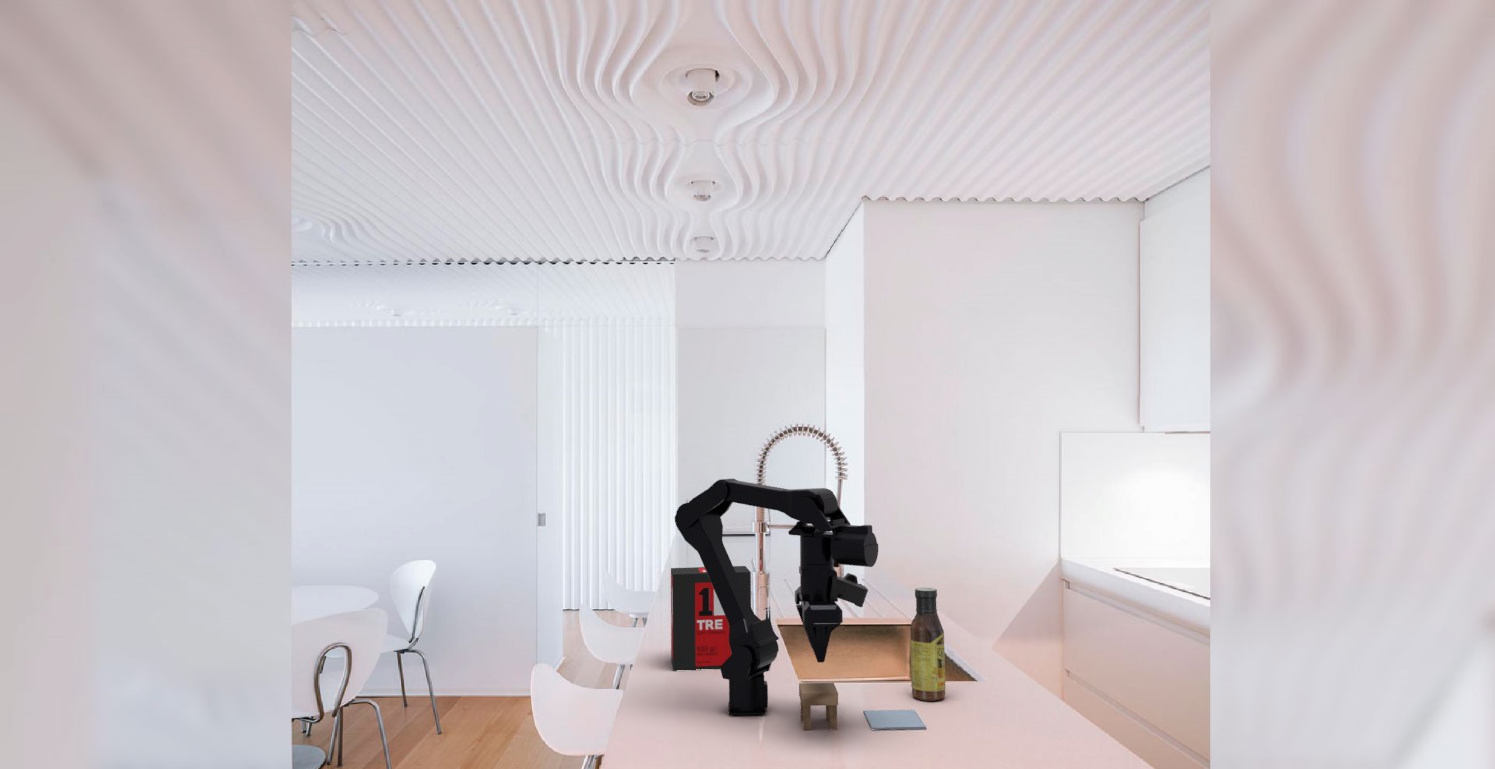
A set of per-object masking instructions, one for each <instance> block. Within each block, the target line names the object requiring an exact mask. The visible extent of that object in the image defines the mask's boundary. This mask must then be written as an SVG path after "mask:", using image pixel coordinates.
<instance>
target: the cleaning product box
mask: <svg viewBox="0 0 1495 769" xmlns="http://www.w3.org/2000/svg"><path fill="white" fill-rule="evenodd" d="M733 567H734V570H735V572H736V574H737V576H738V579H739V581H740V583H741V585H742V588H743V590H744V592H745V594H746V597H747V599H748V601H749V604H750V606H751V607H752V580H751V579H752V578H751V577H752V575H751V574H752V572H751V571H750V570H749V568H748V567H747V566H746V565H733ZM670 653H671V655H670V656H671V657H670V660H671V661H670V662H671V665H672V672H678V671H677V670H692V671H697V670H696V669H700V670H699V671H702V670H701V669H714V670H720V666H721V665H722V664H723V663H724V662H725V661H726V660H727V659H728V658H729V657H730V656H731V655H732V653H731V649H730V645H729V623H728V621H727V618H726V616H725V614H724V611H723V609H722V607H721V604H720V602H719V600H718V597H717V595H716V593H715V590H714V588H713V586H712V583H711V581H710V579H709V576H708V574H707V572H706V569H705V567H704V566H700V567H696V566H695V567H671V568H670Z"/></svg>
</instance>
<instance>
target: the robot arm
mask: <svg viewBox="0 0 1495 769" xmlns="http://www.w3.org/2000/svg"><path fill="white" fill-rule="evenodd" d="M733 503H735V504H736V503H737V504H741V505H745V506H751V507H757V508H762V509H768V510H773V511H778V512H781V513H783V514H785V515H786V516H787V517H789V518H791V519H793V520H795V521H797V522H796V524H795V525H794V526H793V527H792V528H791V529H790V530H788V532H787V534H788V535H790V536H799V545H800V547H799V554H800V555H799V556H800V558H799V560H800V562H799V564H800V565H799V566H798V573H799V574H800V576H799V578H800V579H799V580H800V581H799V582H800V586H799V587H797V589H796V590H794V602H795V604H796V605H795V607H796V609H797V611H798V616H799V618H800V620H801V623H802V625H803V628H804V631H805V634H806V636H807V639H808V642H809V645H810V648H811V649H812V650H813V653H814V656H815V658H816V661H817V663H824V662H825V661H826V656H827V652H828V651H827V650H828V647H829V643H830V640H831V639H830V638H831V634H832V632H833V631H834V630H835V629H837V627H840V626H841V624H842V623H843V610H842V608H841V607H840V606H839V605H838V604H837V602H839V599H840V600H842V601H845V602H849V603H851V604H852V605H853V604H854V605H855V606H856V607H859V608H863V607H864V603H865V600H866V597H867V595H868V592H869V589H868V587H866V586H865V585H863V584H862V583H858V582H859V581H858V576H856V574H853V573H849V572H848V573H846V574H845V575H844V576H843V577H842V576H838V572H837V571H836V570H835V568H834V567H835V566H834V564H835V563H834V561H836V563H837V564H839V565H844V566H854V567H867V568H873V567H874V566H875V564H876V563H877V560H878V556H879V543H878V542H877V537H876V535H875V534H874V532H873V526H872V524H863V525H856V524H855V525H852V524H851V522H850V521H849V520H848V517H847V516H846V515H845V514H844V512H843V510H842V509H841V507H840V506H839V504H838V503H839V502H838V499H837V497H836V495H835V494H834V492H833V491H832V490H831V489H829V488H826V487H823V488H822V487H821V488H819V487H817V488H795V489H794V488H792V489H791V488H790V489H788V488H783V487H776V486H770V485H766V484H760V483H754V482H749V481H742V480H741V481H740V480H737V479H736V478H721V479H720V478H719V479H718V480H716V481H715V482H714V483H713V484H712V485H711V486H709V487H708V488H707V489H706V490H704V491H702V492H701V493H699V494H698V495H695V497H693V498H692V499H691V500H690V501H689V502H685V503H682V504H681V505H679V507H678V508H677V510H676V511H675V516H674V522H675V526H676V529H677V530H678V531H679V533H680V535H681V536H682V538H683V539H684V541H685V542H686V543H687V544H689V545H690V546H691V547H692V548H693V549H694V550H695V551H696V552H697V553H698V556H699V557H700V560H701V562H702V564H703V565H702V566H703V567H705V569H706V572H707V574H708V576H709V579H710V581H711V583H712V586H713V588H714V590H715V593H716V595H717V597H718V600H719V602H720V604H721V607H722V609H723V611H724V614H725V616H726V618H727V621H728V623H729V645H730V649H731V653H732V655H731V656H730V657H729V658H728V659H727V660H726V661H725V662H724V663H723V664H722V665H721V666H720V669H719V670H720V673H721V676H722V679H724V680H728V716H761V715H762V716H763V715H766V709H768V708H769V705H768V704H769V702H768V700H769V690H768V688H769V687H768V681H767V680H765V673H767V672H769V671H770V670H771V666H772V663H773V662H774V661H775V660H776V659H777V656H778V653H779V650H780V649H779V648H780V647H779V644H778V640H779V639H780V638H779V636H777V634H776V633H775V631H774V628H773V625H772V622H771V620H770V619H769V618H765V619H762V620H761V619H760V617H758V616H757V615H756V614H755V612H754V611H753V608H752V605H751V606H750V604H749V601H748V599H747V597H746V594H745V592H744V590H743V588H742V585H741V583H740V581H739V579H738V576H737V574H736V572H735V570H734V567H733V566H734V565H733V563H732V561H731V559H730V555H729V554H728V551H727V549H726V547H725V545H724V542H723V536H724V535H723V533H724V530H723V529H724V525H723V523H722V518H721V517H723V515H725V514H726V513H727V512H728V511H729V509H730V508H731V506H732V504H733Z"/></svg>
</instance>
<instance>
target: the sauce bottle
mask: <svg viewBox="0 0 1495 769" xmlns="http://www.w3.org/2000/svg"><path fill="white" fill-rule="evenodd" d="M937 597H938V591H937V589H936V588H934V587H918V588H915V589H914V598H915V603H916V604H915V605H916V606H915V607H916V608H915V612H916V614H915V616H914V617H913V619H912V620H911V623H910V640H909V641H910V647H909V648H910V674H911V675H910V676H911V677H910V680H911V681H910V683H911V688H912V689H911V694H912V696H913V698H915V699H916V700H921V701H927V702H928V701H930V702H931V701H932V702H935V701H940V700H943V699H944V698H945V695H946V658H945V656H946V655H945V654H946V653H945V652H946V651H945V650H946V648H945V631H944V629H943V625H942V623H941V620H940V618H939V615H938V614H939V613H938V609H937Z"/></svg>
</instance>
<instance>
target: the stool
mask: <svg viewBox="0 0 1495 769" xmlns="http://www.w3.org/2000/svg"><path fill="white" fill-rule="evenodd" d="M798 696H799V700H800V722H802V729H803V731H812V728H811V727H812V723H811V722H812V721H811V720H812V719H811V717H812V716H811V714H812V713H811V712H812V711H811V707H812V706H814V707H815V706H817V707H818V706H825V719H826V721H827V720H829V721H828V727H829V730H830V729H832V730H838V706H839V692H838V689H837V687H836V685H835V682H802V683H801V682H800V683H798Z"/></svg>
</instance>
